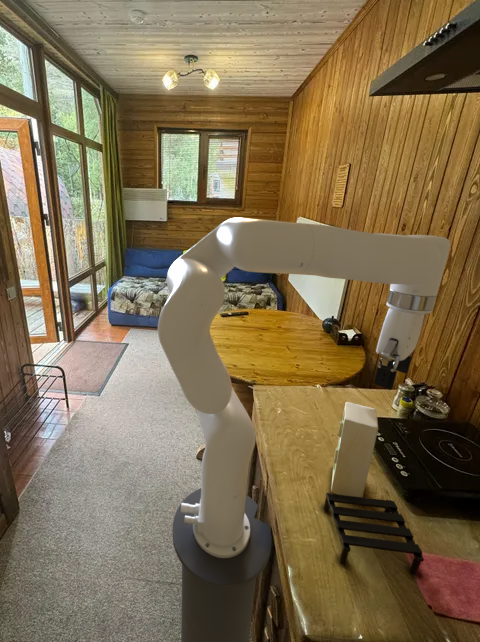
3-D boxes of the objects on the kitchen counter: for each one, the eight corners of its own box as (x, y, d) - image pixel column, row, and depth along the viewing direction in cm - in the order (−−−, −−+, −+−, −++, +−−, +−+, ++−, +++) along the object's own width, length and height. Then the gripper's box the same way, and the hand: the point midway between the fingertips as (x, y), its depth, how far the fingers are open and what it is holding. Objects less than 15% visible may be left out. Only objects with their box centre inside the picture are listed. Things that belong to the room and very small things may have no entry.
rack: (340, 564, 59) (344, 546, 58) (323, 507, 70) (326, 490, 69) (418, 575, 58) (425, 557, 56) (387, 515, 69) (392, 498, 67)
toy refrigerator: (329, 467, 81) (342, 399, 75) (360, 478, 78) (377, 408, 72) (327, 491, 75) (341, 418, 68) (361, 504, 71) (379, 429, 65)
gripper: (401, 289, 68) (385, 359, 73) (372, 304, 57) (355, 385, 62) (444, 297, 62) (423, 371, 67) (421, 314, 51) (398, 402, 56)
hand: (391, 378), depth 65 cm, fingers open, 9 cm apart
